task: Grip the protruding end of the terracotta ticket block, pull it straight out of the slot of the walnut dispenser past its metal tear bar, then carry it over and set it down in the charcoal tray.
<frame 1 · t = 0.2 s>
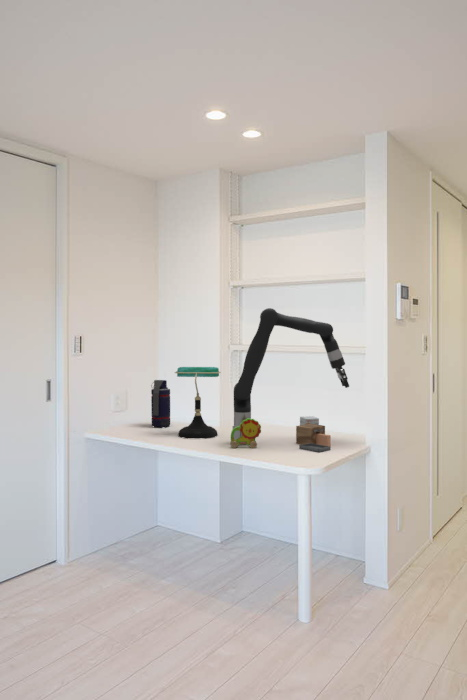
hand: (346, 386, 311), 31 cm above the table, tool tilted 20°, fingers open, 8 cm apart
grenade: (160, 427, 367), on the table
toy lion: (245, 447, 299), on the table
dispenser: (310, 443, 310), on the table
tray: (314, 449, 294), on the table
banker's lamp: (197, 435, 335), on the table
ticket: (321, 445, 304), on the table
ink box: (309, 438, 327), on the table
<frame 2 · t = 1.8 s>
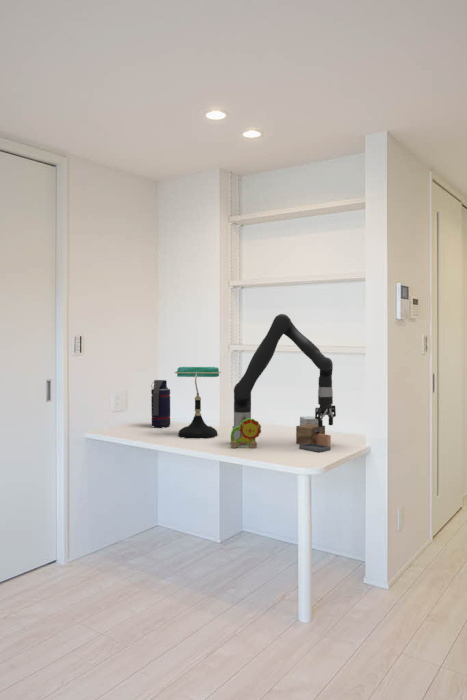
hand: (325, 426, 302), 10 cm above the table, tool pointing down, fingers open, 8 cm apart
nothing on the table moved.
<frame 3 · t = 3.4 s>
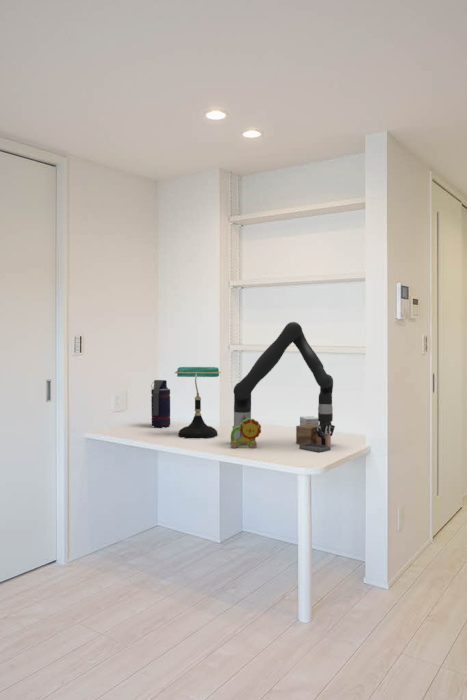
hand: (325, 444, 302), 1 cm above the table, tool pointing down, fingers closed on ticket, 2 cm apart
ticket: (321, 445, 304), on the table, touching gripper
everything else where it was.
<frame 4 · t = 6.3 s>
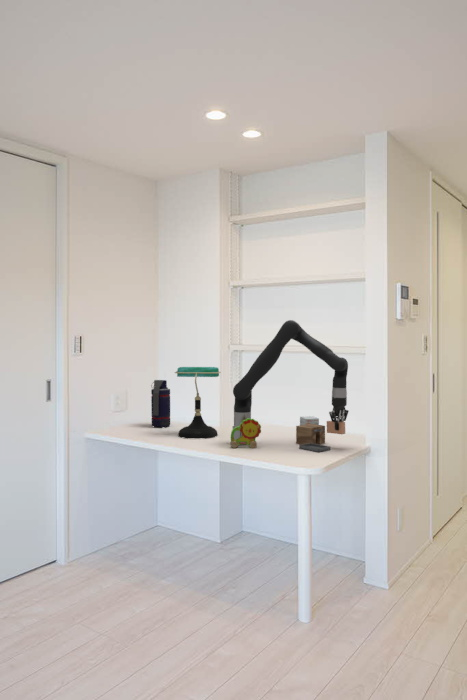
hand: (338, 429, 295), 10 cm above the table, tool pointing down, fingers closed on ticket
ticket: (336, 433, 297), point 8 cm above the table, touching gripper
everything else where it was.
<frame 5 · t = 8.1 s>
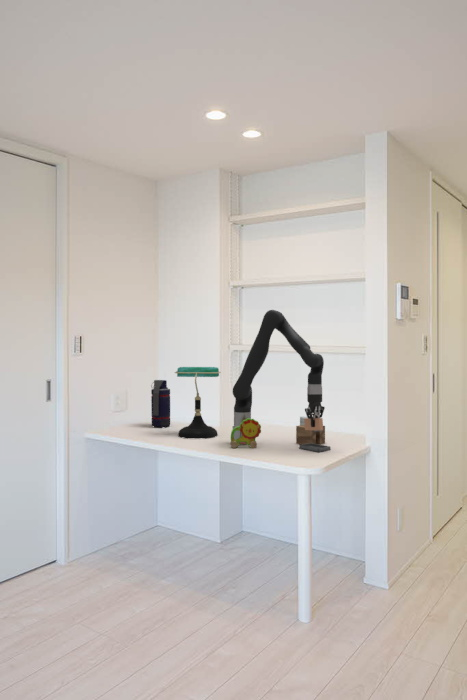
hand: (314, 426, 293), 12 cm above the table, tool pointing down, fingers closed on ticket
ticket: (314, 430, 294), point 10 cm above the table, tilted 6°, touching gripper
everything else where it was.
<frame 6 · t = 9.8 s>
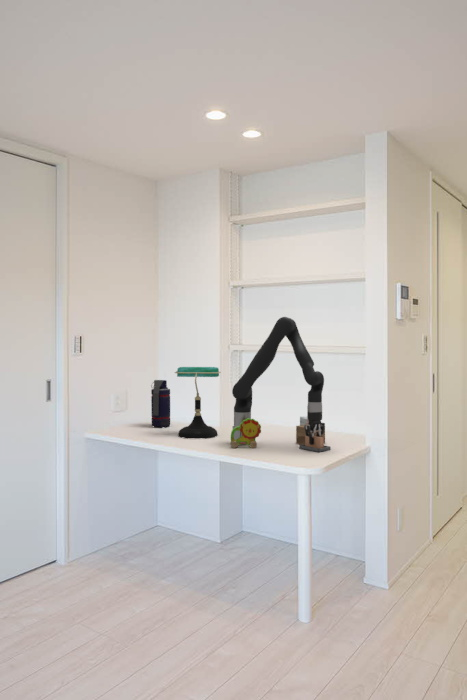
hand: (314, 443, 293), 3 cm above the table, tool pointing down, fingers open, 4 cm apart
ticket: (314, 448, 294), point 1 cm above the table, touching tray
everything else where it was.
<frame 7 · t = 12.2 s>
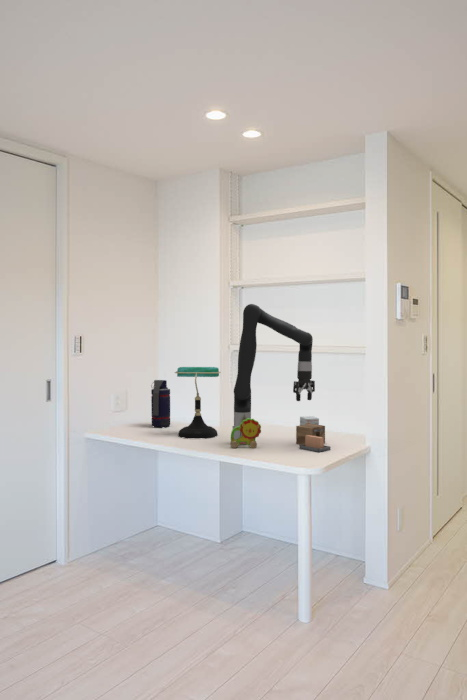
hand: (303, 400, 303), 24 cm above the table, tool pointing down, fingers open, 8 cm apart
nothing on the table moved.
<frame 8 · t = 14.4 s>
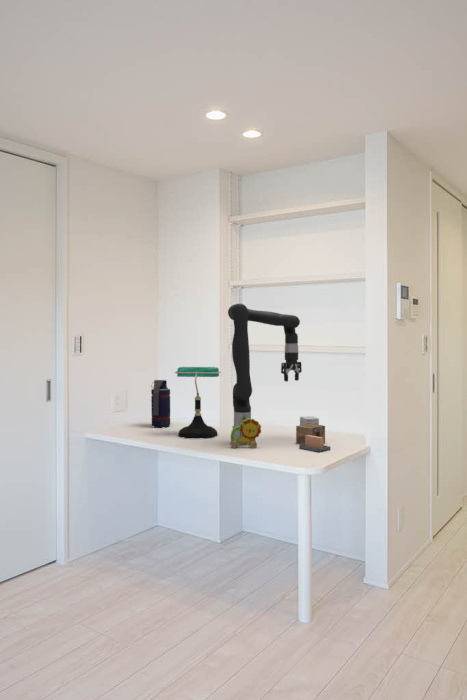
hand: (291, 380, 318), 33 cm above the table, tool pointing down, fingers open, 8 cm apart
nothing on the table moved.
at the end: ticket inside the target area on the tray (0.3 cm from its centre), point 0.6 cm above the tray's base; ticket touching tray; the gripper is holding nothing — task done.
